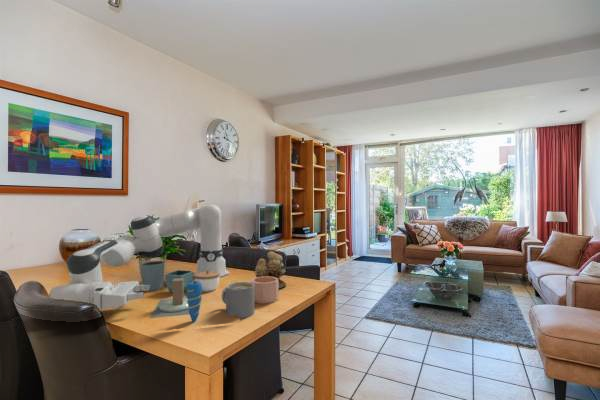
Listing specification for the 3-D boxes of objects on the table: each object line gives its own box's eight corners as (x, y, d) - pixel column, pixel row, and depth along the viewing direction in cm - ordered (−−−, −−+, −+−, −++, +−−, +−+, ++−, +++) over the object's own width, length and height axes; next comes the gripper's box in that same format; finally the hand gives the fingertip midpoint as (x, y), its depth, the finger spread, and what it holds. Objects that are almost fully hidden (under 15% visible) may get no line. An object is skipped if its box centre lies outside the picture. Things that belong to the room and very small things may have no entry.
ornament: (182, 324, 99) (182, 278, 99) (195, 319, 104) (195, 275, 104) (192, 327, 96) (192, 280, 96) (205, 322, 101) (205, 277, 101)
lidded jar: (212, 295, 130) (212, 273, 130) (190, 294, 132) (190, 272, 132) (224, 288, 141) (223, 268, 141) (202, 287, 143) (202, 267, 143)
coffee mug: (260, 312, 109) (259, 285, 109) (237, 321, 102) (237, 291, 102) (237, 304, 118) (237, 278, 118) (215, 311, 110) (214, 284, 111)
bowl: (249, 296, 128) (249, 277, 128) (275, 294, 131) (275, 275, 131) (252, 304, 117) (252, 284, 117) (280, 302, 120) (280, 282, 120)
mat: (160, 301, 122) (160, 299, 122) (201, 298, 126) (201, 296, 126) (149, 320, 103) (149, 318, 103) (198, 315, 107) (198, 313, 107)
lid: (162, 302, 119) (162, 276, 119) (197, 299, 123) (197, 274, 123) (156, 313, 107) (155, 285, 107) (195, 310, 110) (194, 282, 110)
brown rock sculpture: (276, 282, 151) (276, 247, 152) (292, 286, 143) (292, 250, 143) (246, 289, 138) (246, 252, 138) (263, 295, 130) (263, 255, 130)
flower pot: (164, 294, 131) (164, 274, 131) (178, 289, 140) (177, 269, 140) (181, 296, 129) (181, 275, 129) (194, 290, 137) (194, 270, 137)
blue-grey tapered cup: (165, 289, 140) (165, 263, 140) (140, 292, 135) (140, 265, 135) (163, 284, 148) (163, 259, 149) (140, 287, 143) (139, 262, 144)
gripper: (113, 294, 118) (152, 291, 122) (92, 313, 98) (139, 308, 102) (113, 278, 118) (152, 275, 122) (92, 293, 98) (139, 290, 102)
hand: (146, 291), depth 112 cm, fingers open, 8 cm apart
